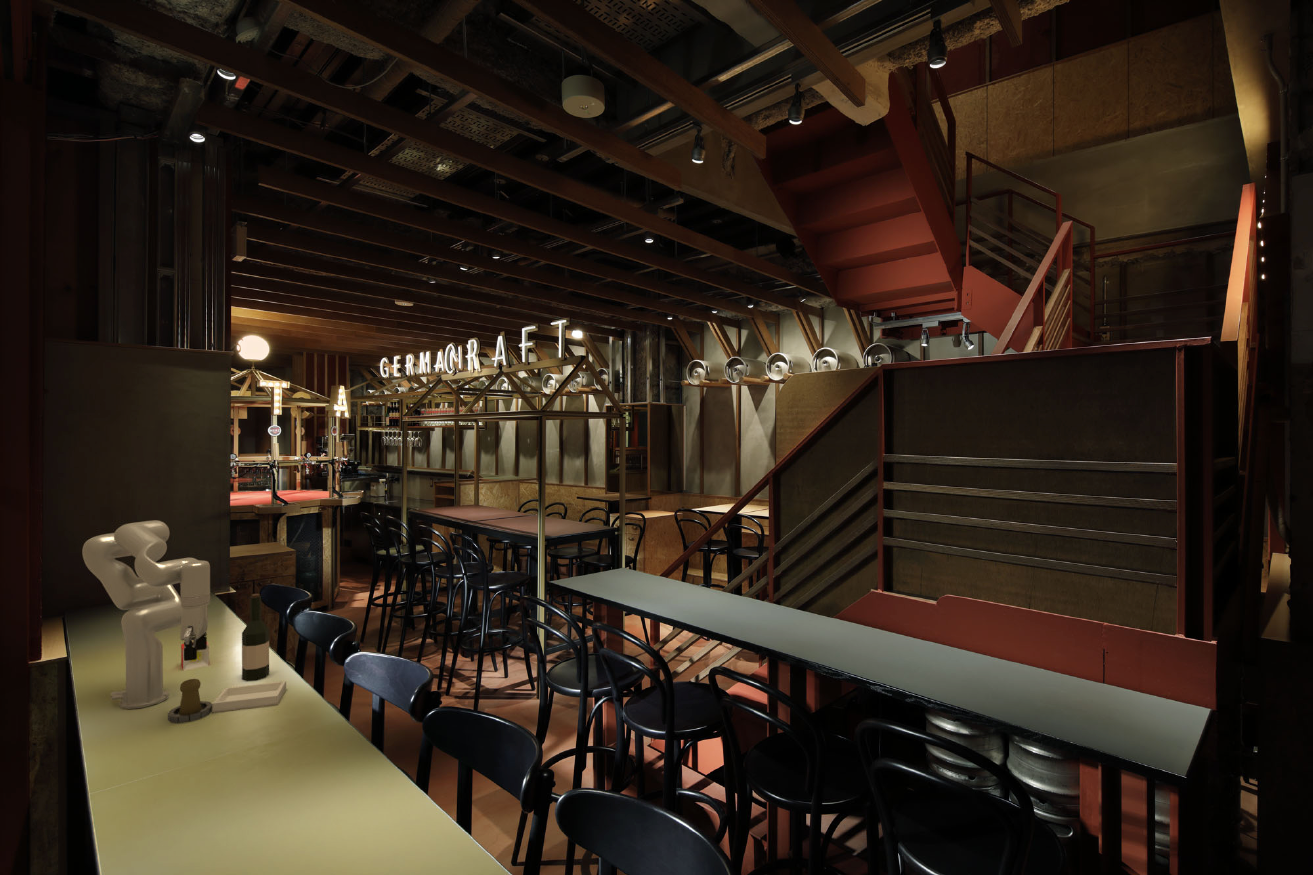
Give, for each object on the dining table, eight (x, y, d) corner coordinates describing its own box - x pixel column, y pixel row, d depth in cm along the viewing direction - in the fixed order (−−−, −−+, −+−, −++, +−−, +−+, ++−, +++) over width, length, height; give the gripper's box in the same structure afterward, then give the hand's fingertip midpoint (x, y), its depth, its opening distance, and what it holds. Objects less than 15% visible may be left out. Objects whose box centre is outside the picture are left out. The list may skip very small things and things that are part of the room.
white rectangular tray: (212, 712, 199) (212, 703, 199) (225, 696, 212) (225, 687, 212) (277, 704, 205) (277, 695, 205) (286, 689, 217) (286, 680, 217)
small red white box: (183, 670, 235) (182, 649, 235) (181, 664, 241) (181, 644, 241) (209, 665, 240) (209, 644, 240) (206, 659, 246) (206, 639, 246)
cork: (186, 711, 200) (186, 676, 200) (206, 710, 201) (206, 676, 201) (173, 719, 194) (173, 684, 194) (194, 719, 195) (194, 683, 195)
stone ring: (162, 725, 191) (162, 718, 191) (176, 710, 201) (176, 704, 201) (205, 719, 194) (205, 713, 194) (216, 705, 205) (216, 699, 205)
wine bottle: (256, 682, 224) (255, 598, 224) (236, 680, 226) (236, 596, 225) (274, 673, 232) (274, 592, 232) (255, 671, 234) (255, 591, 233)
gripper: (190, 595, 205) (190, 647, 205) (171, 609, 189) (171, 665, 189) (217, 593, 208) (217, 644, 208) (200, 606, 192) (201, 662, 192)
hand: (195, 654), depth 199 cm, fingers open, 9 cm apart
